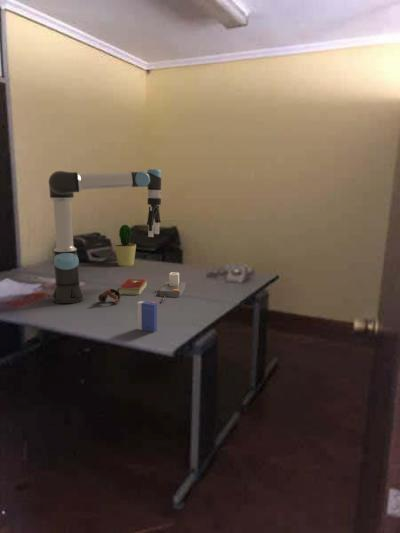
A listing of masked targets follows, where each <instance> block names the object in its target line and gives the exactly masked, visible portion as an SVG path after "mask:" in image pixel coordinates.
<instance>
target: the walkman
mask: <svg viewBox="0 0 400 533" xmlns="http://www.w3.org/2000/svg"><path fill="white" fill-rule="evenodd" d="M136 313H137V330H139V331H140V330H141V331H146V332H152V333H155V332H156V331H158V302H155V301H151V302H150V301H145V300H144V301H143V300H140V301H138V302H137V312H136Z"/></svg>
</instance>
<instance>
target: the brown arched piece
mask: <svg viewBox="0 0 400 533" xmlns="http://www.w3.org/2000/svg"><path fill="white" fill-rule="evenodd" d="M109 297H110V298H111V299H113V300H115V301H114V305H118V304H119V302H120V301H121V297H122V294H120V293H119V292H118V290H117V289H114V288H108V289H107V290H105V291H104V292H103V293H100V294H99V295H98V297H97V298H98V301H99V303H100V305H102V304H104V305H105V303H106V301H107V299H108V298H109Z"/></svg>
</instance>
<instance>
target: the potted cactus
mask: <svg viewBox="0 0 400 533" xmlns="http://www.w3.org/2000/svg"><path fill="white" fill-rule="evenodd" d="M118 236H119V240H120V243H116V244H114V248H115V253H116V260H117V265H118V266H120V267H131V266H134V265H135V257H136V249H137V244H136V243H131V240H130V239H131V237H132V229H131V226H129V224H128V225H127V224H122V225H121V226H120V227H119V231H118Z"/></svg>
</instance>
